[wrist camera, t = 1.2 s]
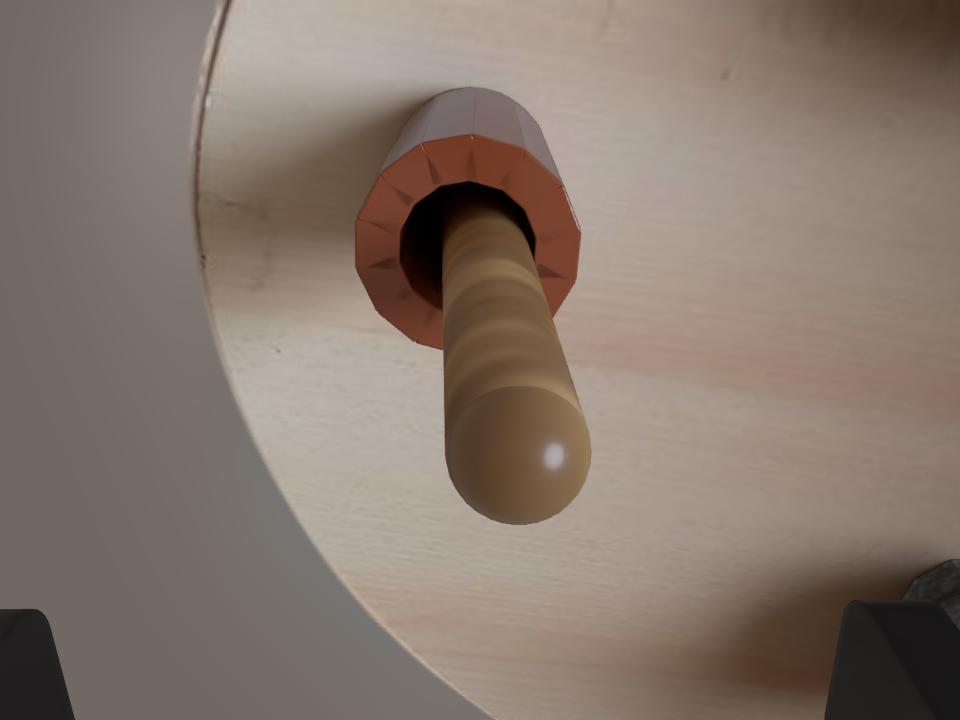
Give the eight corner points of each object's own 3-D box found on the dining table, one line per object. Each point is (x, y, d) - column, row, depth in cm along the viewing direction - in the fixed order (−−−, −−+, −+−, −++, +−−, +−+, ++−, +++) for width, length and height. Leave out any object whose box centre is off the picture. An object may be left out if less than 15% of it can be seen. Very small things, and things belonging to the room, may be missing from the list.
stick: (429, 182, 34) (418, 519, 13) (459, 127, 33) (495, 396, 13) (483, 211, 34) (551, 576, 14) (514, 157, 33) (633, 462, 13)
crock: (369, 197, 35) (316, 294, 24) (441, 55, 33) (420, 89, 22) (500, 267, 36) (507, 390, 25) (577, 134, 34) (624, 205, 23)
